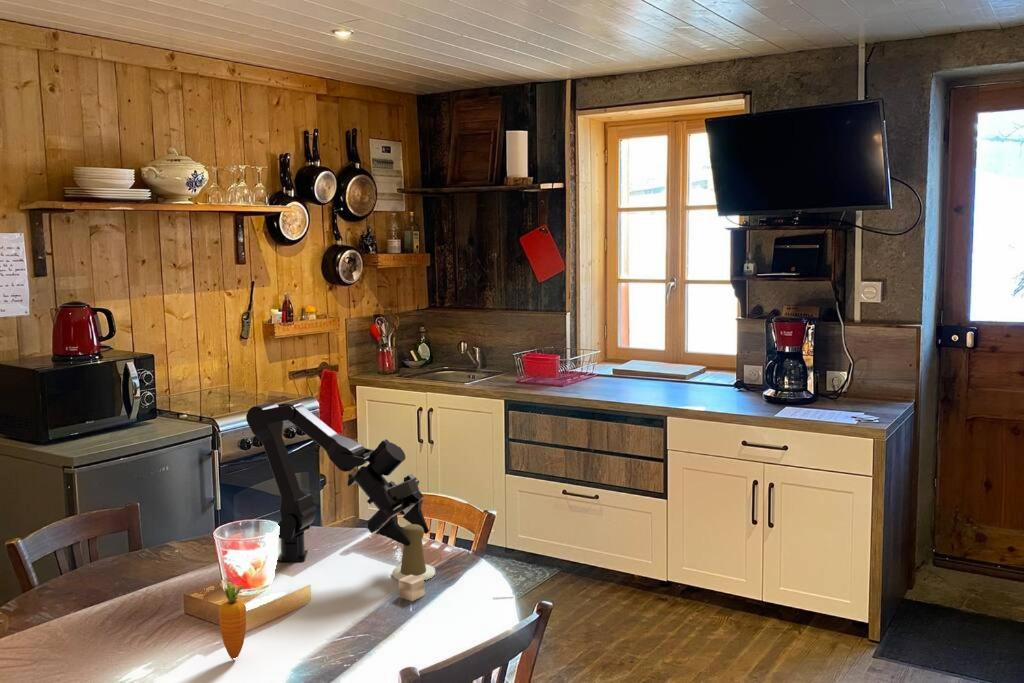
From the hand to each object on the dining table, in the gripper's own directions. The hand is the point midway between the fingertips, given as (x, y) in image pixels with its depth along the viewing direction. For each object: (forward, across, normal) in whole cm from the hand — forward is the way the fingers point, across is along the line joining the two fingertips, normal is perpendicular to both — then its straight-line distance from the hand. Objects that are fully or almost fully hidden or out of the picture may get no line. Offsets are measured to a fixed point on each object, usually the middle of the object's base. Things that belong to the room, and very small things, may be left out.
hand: (418, 538), depth 210 cm
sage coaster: (+5, 0, +7) cm, 9 cm away
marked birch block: (+9, -12, +3) cm, 15 cm away
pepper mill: (+5, 0, +7) cm, 8 cm away
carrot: (-2, -51, +15) cm, 53 cm away
